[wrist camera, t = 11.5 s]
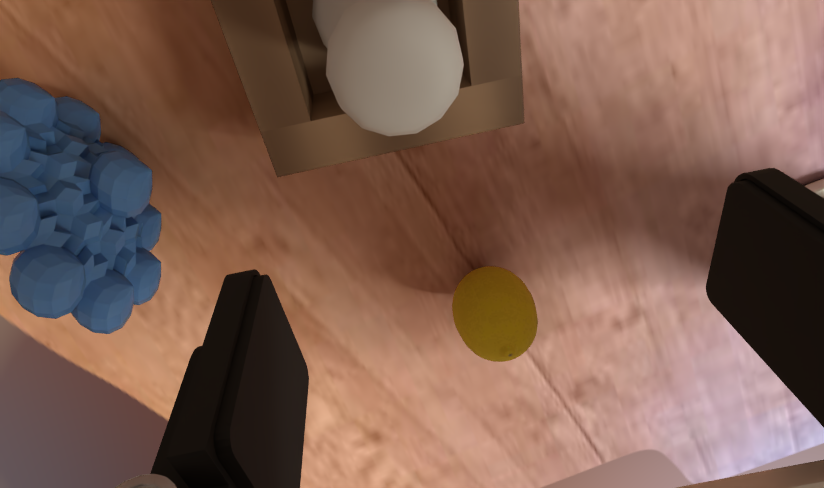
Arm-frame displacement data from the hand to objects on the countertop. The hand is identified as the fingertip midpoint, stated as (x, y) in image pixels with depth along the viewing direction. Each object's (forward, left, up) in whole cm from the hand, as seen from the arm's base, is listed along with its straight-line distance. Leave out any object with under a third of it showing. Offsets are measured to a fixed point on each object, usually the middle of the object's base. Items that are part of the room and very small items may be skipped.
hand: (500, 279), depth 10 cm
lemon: (-3, +18, -21) cm, 28 cm away
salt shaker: (+1, -2, -20) cm, 20 cm away
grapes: (+16, +3, -21) cm, 27 cm away
